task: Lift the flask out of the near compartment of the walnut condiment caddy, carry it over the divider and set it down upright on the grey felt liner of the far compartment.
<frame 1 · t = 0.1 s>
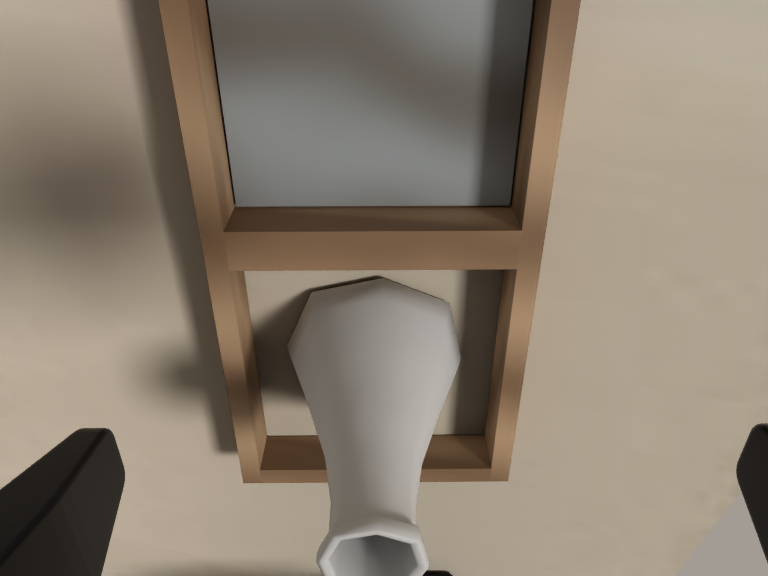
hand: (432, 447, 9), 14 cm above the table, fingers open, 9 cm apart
caddy: (373, 224, 23), on the table
flask: (374, 345, 26), on the table
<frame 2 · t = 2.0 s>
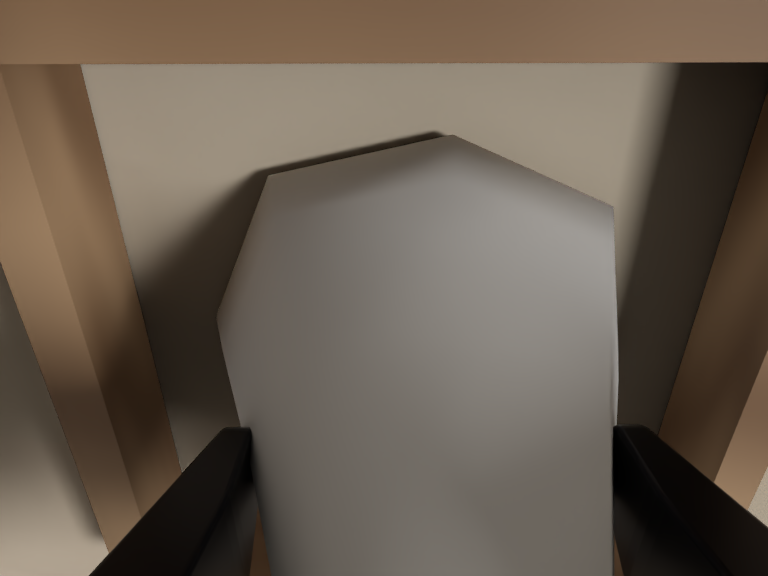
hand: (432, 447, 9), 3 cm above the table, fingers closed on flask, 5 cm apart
flask: (419, 316, 12), on the table, touching gripper
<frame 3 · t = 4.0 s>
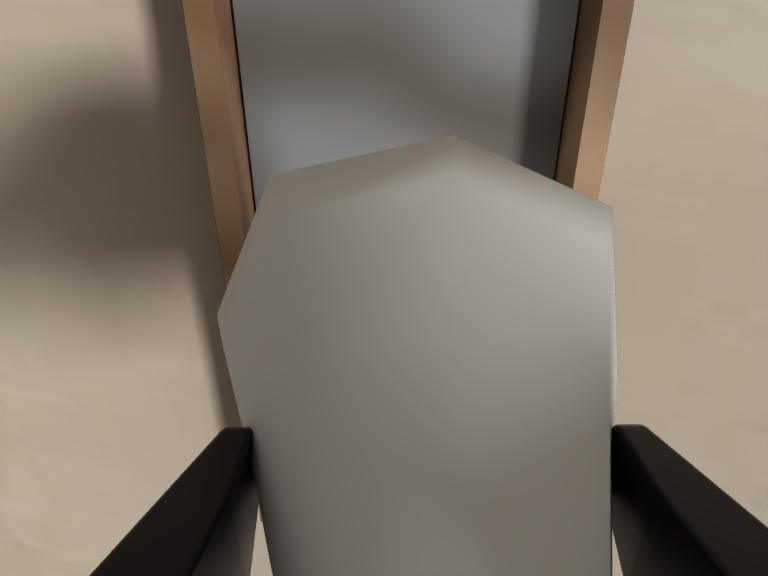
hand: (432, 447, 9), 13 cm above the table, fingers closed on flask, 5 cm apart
caddy: (402, 252, 22), on the table
flask: (419, 316, 12), point 10 cm above the table, touching gripper
when the fingers open (4 cm above the table, at t = 6.1 s): flask drops 1 cm, resting on caddy.
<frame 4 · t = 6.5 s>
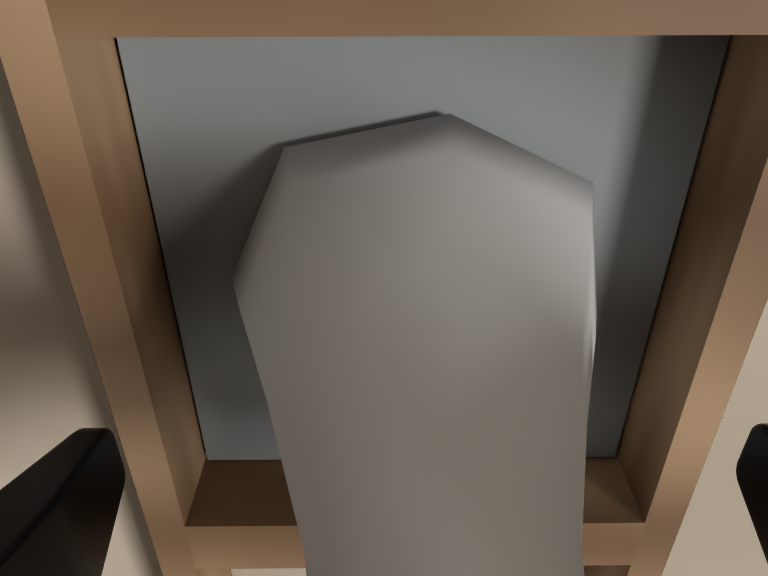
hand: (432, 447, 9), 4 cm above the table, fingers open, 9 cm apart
caddy: (410, 476, 16), on the table
flask: (416, 283, 13), resting on caddy
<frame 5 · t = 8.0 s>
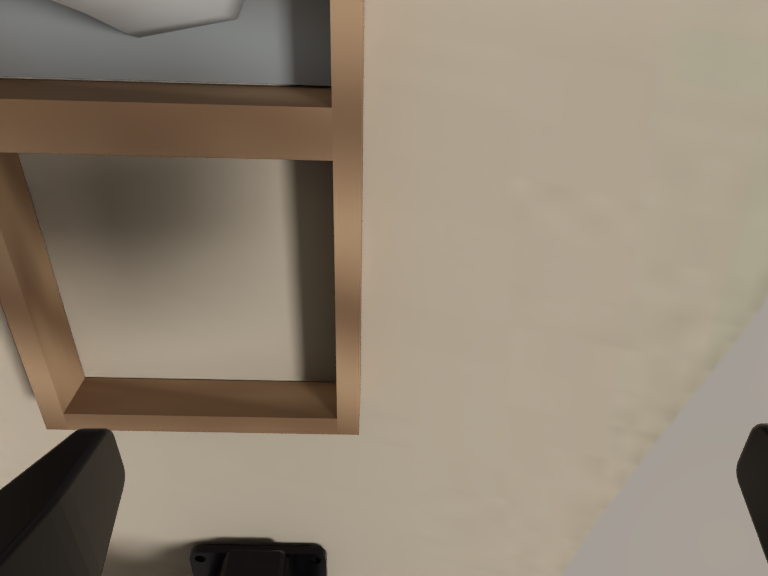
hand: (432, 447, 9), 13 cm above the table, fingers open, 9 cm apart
caddy: (170, 108, 19), on the table
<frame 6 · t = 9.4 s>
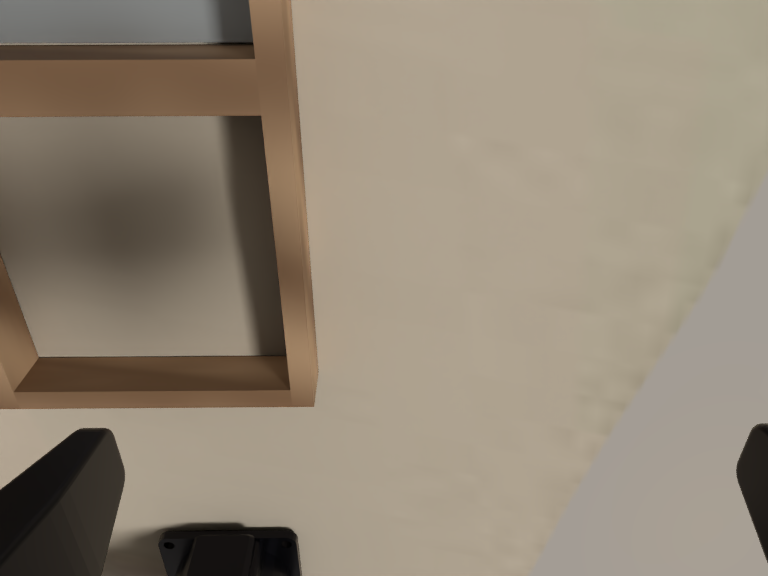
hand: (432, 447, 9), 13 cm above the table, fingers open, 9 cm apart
caddy: (101, 71, 19), on the table
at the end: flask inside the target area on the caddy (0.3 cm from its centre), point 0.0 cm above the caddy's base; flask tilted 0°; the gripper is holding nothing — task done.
